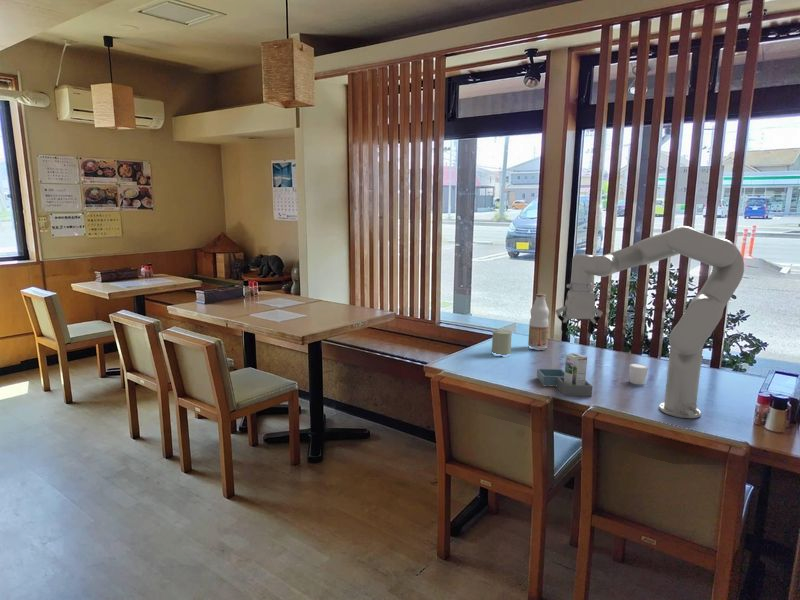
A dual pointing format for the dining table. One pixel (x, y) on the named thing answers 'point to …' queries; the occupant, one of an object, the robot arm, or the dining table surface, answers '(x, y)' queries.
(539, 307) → the fruit juice
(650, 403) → the dining table surface
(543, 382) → the slate bin
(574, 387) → the charcoal bin
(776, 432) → the dining table surface
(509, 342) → the can
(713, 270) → the robot arm
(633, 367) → the white cup
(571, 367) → the syrup box
